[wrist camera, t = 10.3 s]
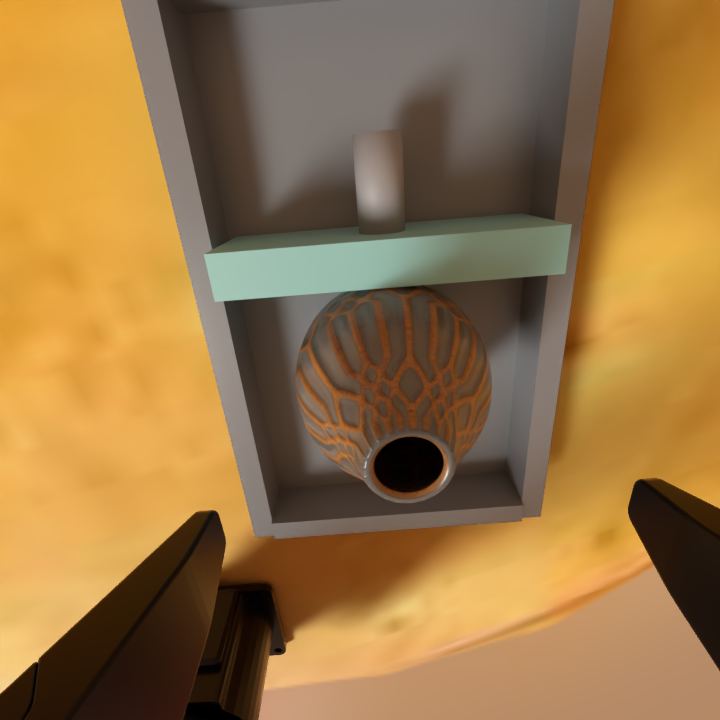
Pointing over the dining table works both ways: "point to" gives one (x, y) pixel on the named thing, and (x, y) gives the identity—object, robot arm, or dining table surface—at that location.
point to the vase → (394, 388)
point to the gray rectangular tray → (339, 209)
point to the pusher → (386, 243)
